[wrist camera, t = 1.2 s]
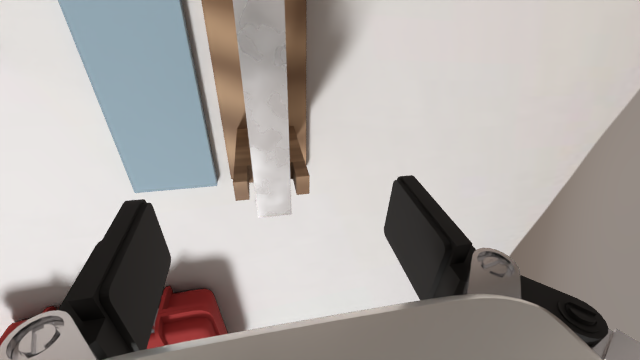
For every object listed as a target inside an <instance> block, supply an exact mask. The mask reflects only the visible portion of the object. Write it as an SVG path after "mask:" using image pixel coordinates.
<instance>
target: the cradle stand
mask: <svg viewBox="0 0 640 360" xmlns="http://www.w3.org/2000/svg"><path fill="white" fill-rule="evenodd" d="M201 1H202V7H203V13H204V19H205V25H206V31H207V37H208V43H209V49H210V55H211V61H212V67H213V73H214V79H215V85H216V90H217V96H218V102H219V108H220V114H221V120H222V126H223V132H224V138H225V144H226V150H227V156H228V162H229V168H230V174H231V179H233V186H234V192H235V198H236V201H238V200H248V199H249V183H250V182H254V179H253V171H252V162H251V154H250V145H249V137H248V128H247V119H246V111H245V102H244V94H243V85H242V77H241V68H240V60H239V51H238V43H237V34H236V25H235V17H234V8H233V0H201ZM284 3H285V33H286V63H287V93H288V123H289V153H290V179H293V181H294V185H295V189H296V193H297V195H299V194H309V173H308V170H307V167H306V0H284Z"/></svg>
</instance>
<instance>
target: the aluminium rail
mask: <svg viewBox="0 0 640 360" xmlns="http://www.w3.org/2000/svg"><path fill="white" fill-rule="evenodd" d="M233 8H234V17H235V25H236V34H237V43H238V51H239V60H240V68H241V77H242V85H243V94H244V102H245V111H246V119H247V128H248V137H249V145H250V154H251V162H252V171H253V179H254V188H255V196H256V205H257V213H258V218H263V217H272V216H281V215H290V214H292V213H291V183H290V153H289V123H288V93H287V63H286V33H285V3H284V0H233Z"/></svg>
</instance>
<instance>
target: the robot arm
mask: <svg viewBox="0 0 640 360" xmlns="http://www.w3.org/2000/svg"><path fill="white" fill-rule="evenodd" d="M384 233H385V236H386V238H387V240H388V242H389V244H390V246H391V247H392V249H393V251H394V253H395V255H396V257H397V258H398V260H399V262H400V264H401V266H402V268H403V269H404V271H405V273H406V275H407V277H408V279H409V280H410V282H411V284H412V286H413V288H414V290H415V291H416V293H417V295H418V297H419V299H420V300H421V301H414V302H408V303H402V304H396V305H390V306H384V307H378V308H372V309H367V310H361V311H355V312H349V313H343V314H337V315H332V316H326V317H320V318H314V319H309V320H303V321H297V322H292V323H286V324H280V325H275V326H269V327H263V328H258V329H252V330H247V331H241V332H236V333H230V334H225V335H219V336H213V337H208V338H202V339H197V340H191V341H186V342H181V343H176V344H171V345H166V346H161V347H156V348H150V349H147V346H148V342H149V338H150V335H151V331H152V328H153V324H154V321H155V317H156V313H157V310H158V306H159V303H160V299H161V296H162V292H163V288H164V285H165V281H166V278H167V274H168V271H169V267H170V263H171V257H170V253H169V250H168V247H167V244H166V242H165V239H164V236H163V233H162V231H161V228H160V225H159V222H158V220H157V217H156V214H155V211H154V209H153V206H152V204H151V203H146V201H145V200H143V199H142V200H131V201H125V202H124V203H123V205H122V207H121V208H120V210H119V212H118V214H117V215H116V217H115V219H114V220H113V222H112V224H111V226H110V227H109V229H108V231H107V233H106V234H105V236H104V238H103V240H102V241H100V242H98V244H97V245H96V246H95V248H94V250H93V251H92V253H91V255H90V257H89V258H88V260H87V262H86V263H85V265H84V267H83V269H82V270H81V272H80V274H79V275H78V277H77V279H76V281H75V282H74V284H73V286H72V287H71V289H70V291H69V292H68V294H67V296H66V298H65V299H64V301H63V303H62V304H61V306H60V308H59V310H56V311H48V312H45V313H41V314H39V315H36V316H34V317H32V318H30V319H28V320H27V321H25V322H24V323H22V324H21V325H19V326H18V327H17V328H16V329H14V330H13V331H12V332H11V333H10V334H9V335H8V336H7V337H6V339H5V340H4V341H3V343H2V344H1V346H0V360H640V342H638V341H637V340H635V339H633V338H632V337H630V336H628V335H627V334H625V333H623V332H622V331H620V330H618V329H616V330H614V331H612V330H610V329H609V328H608V326H607V323H606V321H605V320H604V319H603V317H602V316H601V315H600V314H599V313H598V312H597V311H596V310H595V309H594V308H592V307H591V306H589V305H588V304H587V303H585V302H583V301H581V300H579V299H577V298H575V297H572V296H570V295H568V294H565V293H562V292H560V291H558V290H555V289H553V288H551V287H548V286H546V285H543V284H541V283H538V282H536V281H534V280H531V279H529V278H526V277H524V276H521V275H520V270H519V267H518V266H517V264H516V263H515V261H513V260H512V259H511V258H510V257H509V256H507V255H506V254H504V253H502V252H500V251H498V250H495V249H491V248H480V249H477V250H476V249H475V248H474V247H473V246H472V243H471V241H470V240H469V239H468V238H467V237H466V236H465V235H464V233H463V232H462V231H461V230H460V229H459V228H458V226H457V225H456V224H455V223H454V222H453V221H452V220H451V218H450V217H449V216H448V215H447V214H446V213H445V212H444V210H443V209H442V208H441V207H440V206H439V205H438V203H437V202H436V201H435V200H434V199H433V198H432V197H431V195H430V194H429V193H428V192H427V191H426V190H425V188H424V187H423V186H422V185H421V184H420V183H419V182H418V180H417V179H416V178H415V177H414V176H412V175H411V176H400V177H398V179H397V180H395V181H394V183H393V187H392V192H391V197H390V202H389V207H388V211H387V216H386V221H385V226H384Z"/></svg>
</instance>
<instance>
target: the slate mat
mask: <svg viewBox="0 0 640 360" xmlns="http://www.w3.org/2000/svg"><path fill="white" fill-rule="evenodd" d="M58 2H59V4H60V7H61V9H62V12H63V14H64V17H65V19H66V22H67V24H68V27H69V29H70V32H71V34H72V37H73V39H74V42H75V44H76V47H77V49H78V52H79V54H80V57H81V59H82V62H83V64H84V67H85V69H86V72H87V74H88V77H89V79H90V82H91V84H92V87H93V89H94V92H95V94H96V97H97V99H98V102H99V104H100V107H101V109H102V112H103V114H104V117H105V119H106V122H107V124H108V127H109V130H110V132H111V135H112V137H113V140H114V142H115V145H116V147H117V150H118V152H119V155H120V157H121V160H122V162H123V165H124V167H125V170H126V172H127V175H128V177H129V180H130V182H131V185H132V187H133V190H134V192H135V193H140V192H152V191H163V190H174V189H186V188H197V187H208V186H217V182H218V181H217V176H216V171H215V166H214V161H213V156H212V151H211V146H210V141H209V136H208V131H207V126H206V121H205V116H204V111H203V106H202V101H201V96H200V91H199V86H198V81H197V76H196V71H195V66H194V61H193V56H192V51H191V46H190V41H189V36H188V31H187V26H186V21H185V16H184V11H183V6H182V1H181V0H58Z"/></svg>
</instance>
